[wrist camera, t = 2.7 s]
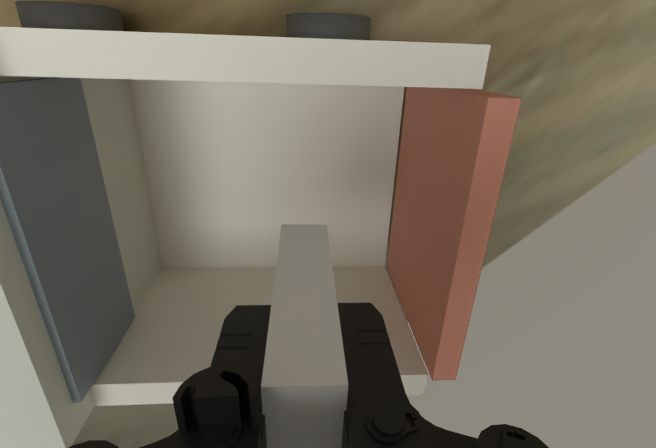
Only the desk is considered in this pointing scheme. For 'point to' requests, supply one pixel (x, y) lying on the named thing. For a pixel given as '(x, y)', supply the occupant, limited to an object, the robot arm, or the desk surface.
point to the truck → (184, 194)
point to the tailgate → (446, 211)
